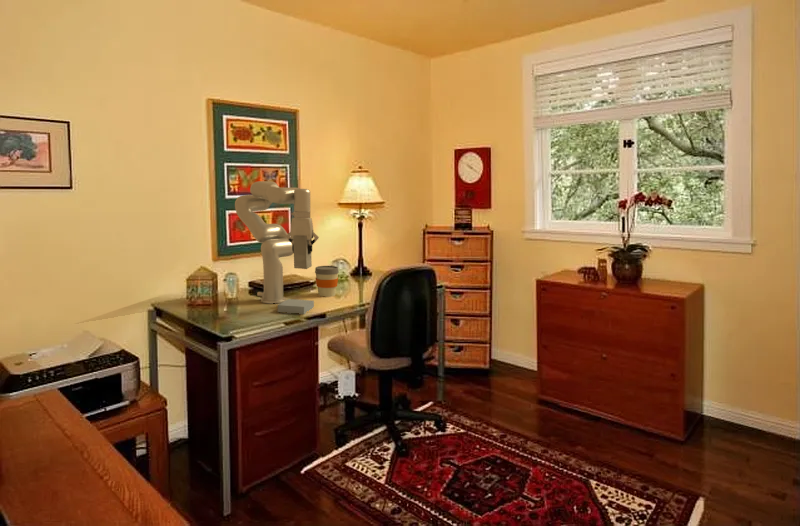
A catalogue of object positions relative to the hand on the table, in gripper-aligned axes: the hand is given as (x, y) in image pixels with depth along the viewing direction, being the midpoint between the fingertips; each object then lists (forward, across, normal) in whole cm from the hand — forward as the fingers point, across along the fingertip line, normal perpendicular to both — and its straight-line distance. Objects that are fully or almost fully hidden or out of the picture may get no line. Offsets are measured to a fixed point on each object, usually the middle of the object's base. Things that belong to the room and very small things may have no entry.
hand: (302, 252), depth 258 cm
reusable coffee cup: (+28, +3, +32) cm, 42 cm away
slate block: (+28, -2, -3) cm, 28 cm away
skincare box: (+7, 0, 0) cm, 7 cm away
